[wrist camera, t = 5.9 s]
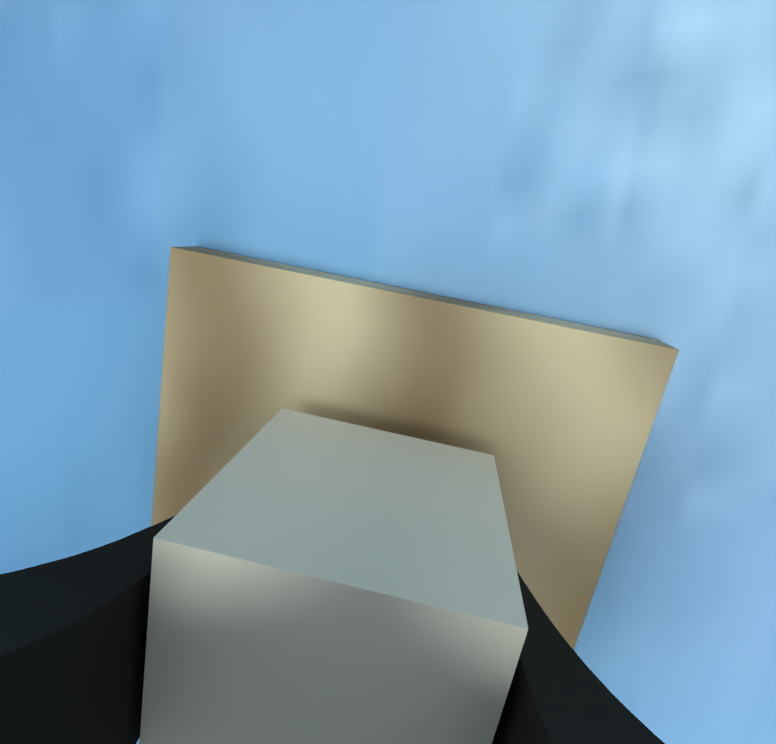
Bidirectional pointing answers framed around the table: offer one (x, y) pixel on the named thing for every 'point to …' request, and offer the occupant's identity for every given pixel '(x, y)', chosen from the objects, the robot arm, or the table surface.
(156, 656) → the pale matte cube
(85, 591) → the robot arm
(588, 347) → the plate
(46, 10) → the table surface
